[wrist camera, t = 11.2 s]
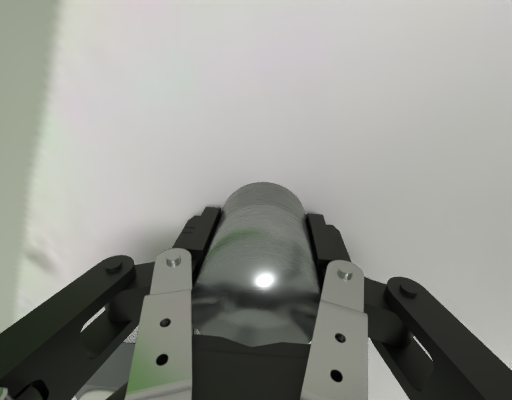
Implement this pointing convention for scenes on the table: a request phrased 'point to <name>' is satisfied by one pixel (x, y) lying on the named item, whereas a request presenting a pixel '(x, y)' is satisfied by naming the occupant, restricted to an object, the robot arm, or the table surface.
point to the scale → (109, 375)
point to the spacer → (259, 271)
